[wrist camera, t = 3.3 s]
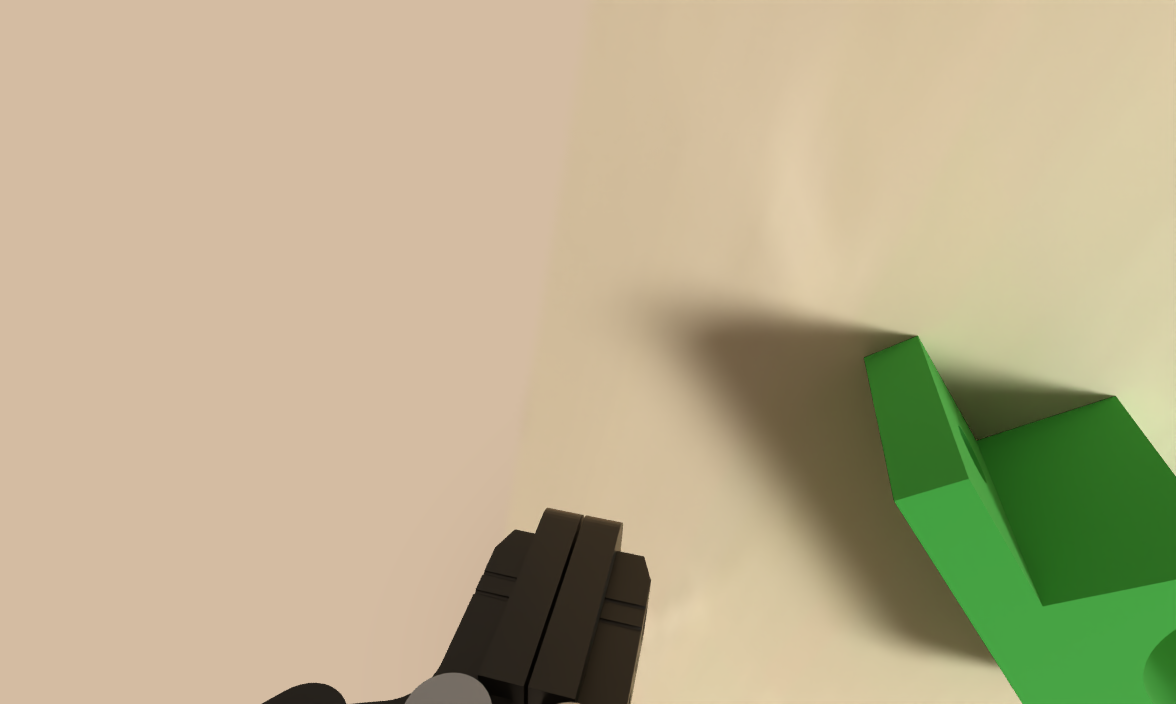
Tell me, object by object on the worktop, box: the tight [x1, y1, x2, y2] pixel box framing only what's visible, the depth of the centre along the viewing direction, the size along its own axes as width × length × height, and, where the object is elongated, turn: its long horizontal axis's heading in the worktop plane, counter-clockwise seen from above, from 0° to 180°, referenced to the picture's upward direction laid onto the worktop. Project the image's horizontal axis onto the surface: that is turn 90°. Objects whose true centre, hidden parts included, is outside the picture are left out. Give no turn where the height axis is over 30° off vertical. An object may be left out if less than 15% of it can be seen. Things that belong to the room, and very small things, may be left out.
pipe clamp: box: [864, 336, 1176, 704], centre depth 13 cm, size 11×4×5 cm, turn 37°
